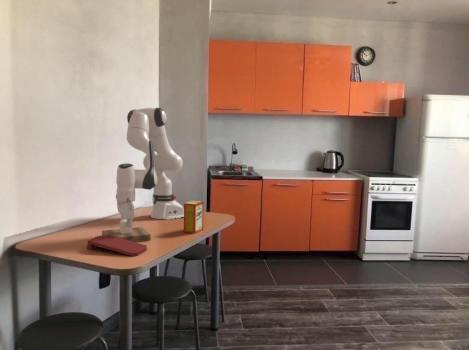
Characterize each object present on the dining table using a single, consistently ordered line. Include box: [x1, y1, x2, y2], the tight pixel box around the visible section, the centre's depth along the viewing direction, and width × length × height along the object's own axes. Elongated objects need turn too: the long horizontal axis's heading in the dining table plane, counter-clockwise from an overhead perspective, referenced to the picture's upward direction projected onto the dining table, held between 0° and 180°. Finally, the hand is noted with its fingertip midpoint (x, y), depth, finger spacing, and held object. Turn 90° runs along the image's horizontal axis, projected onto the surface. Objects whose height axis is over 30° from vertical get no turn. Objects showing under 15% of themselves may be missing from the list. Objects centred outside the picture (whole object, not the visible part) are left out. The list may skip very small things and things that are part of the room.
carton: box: [86, 234, 148, 257], centre depth 181 cm, size 12×5×25 cm
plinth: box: [101, 226, 152, 243], centre depth 201 cm, size 20×16×3 cm
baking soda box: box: [183, 200, 204, 235], centre depth 218 cm, size 10×6×16 cm
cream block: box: [119, 219, 133, 234], centre depth 200 cm, size 5×5×6 cm
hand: (126, 224), depth 200 cm, fingers open, 8 cm apart
